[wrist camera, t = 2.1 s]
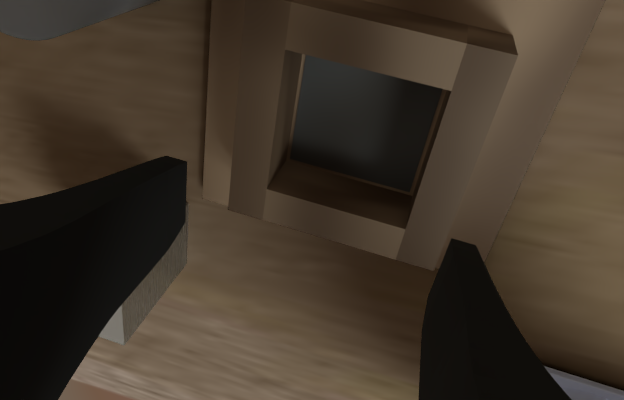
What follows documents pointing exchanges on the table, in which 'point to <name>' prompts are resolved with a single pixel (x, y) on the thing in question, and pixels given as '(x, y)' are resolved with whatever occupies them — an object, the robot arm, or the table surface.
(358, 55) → the socket block
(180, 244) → the block
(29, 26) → the thick gray rectangular block
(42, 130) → the table surface
